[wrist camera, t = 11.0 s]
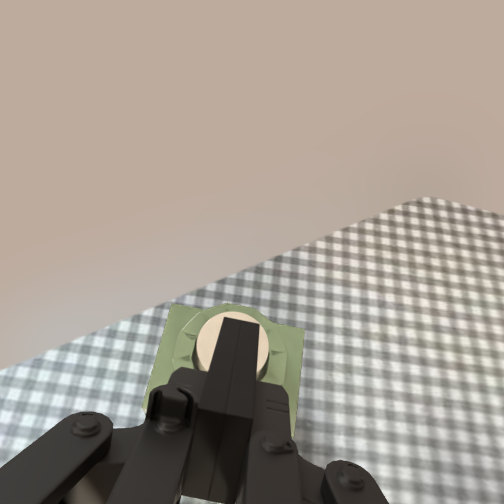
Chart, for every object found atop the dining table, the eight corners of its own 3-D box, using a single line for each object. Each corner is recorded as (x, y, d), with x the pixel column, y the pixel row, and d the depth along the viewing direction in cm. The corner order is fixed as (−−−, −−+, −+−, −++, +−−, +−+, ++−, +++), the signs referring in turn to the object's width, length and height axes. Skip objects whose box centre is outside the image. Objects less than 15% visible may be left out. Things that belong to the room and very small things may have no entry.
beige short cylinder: (268, 333, 30) (273, 318, 27) (258, 398, 27) (263, 387, 25) (204, 320, 30) (205, 305, 27) (189, 385, 27) (188, 373, 25)
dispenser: (279, 374, 42) (311, 317, 30) (268, 458, 38) (300, 431, 26) (177, 354, 42) (170, 289, 30) (156, 437, 38) (137, 399, 26)
